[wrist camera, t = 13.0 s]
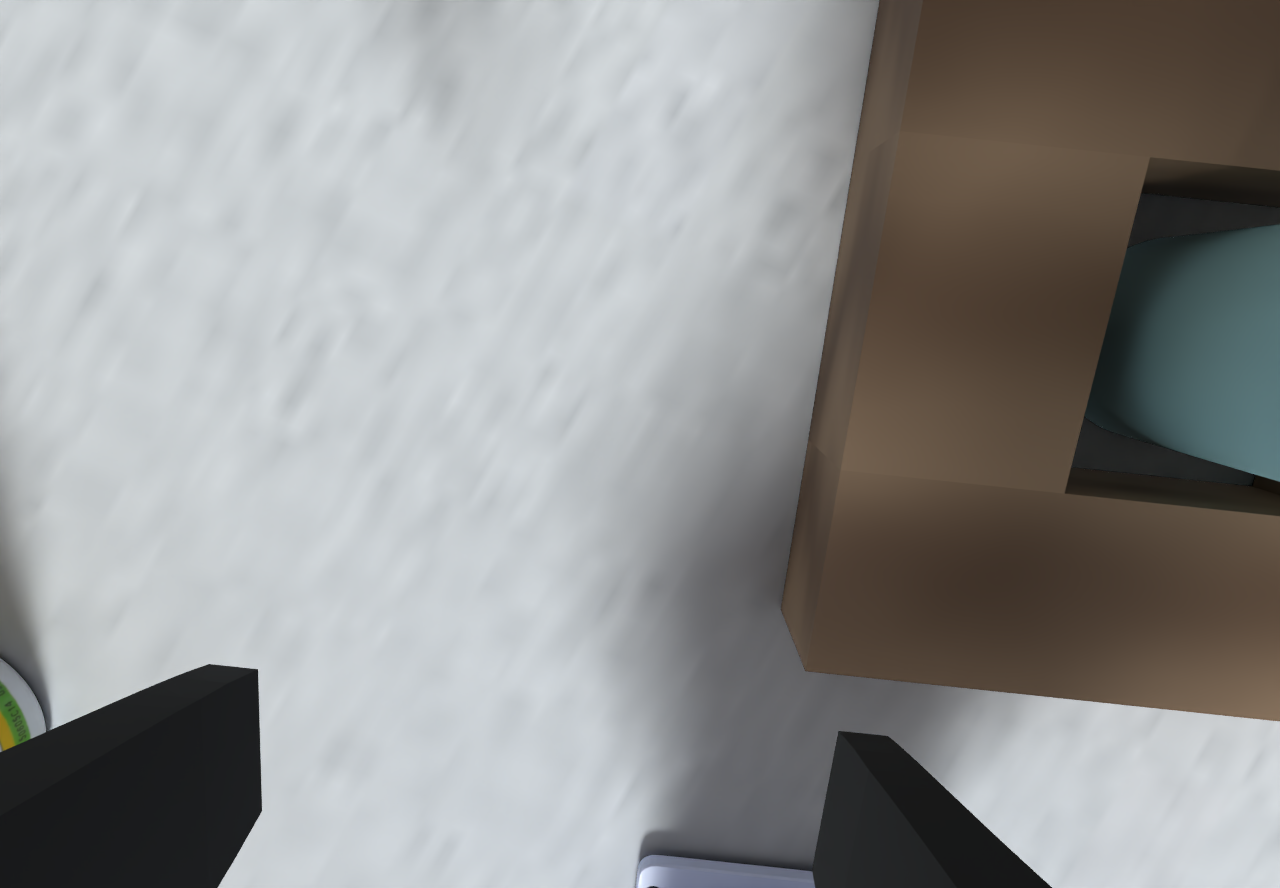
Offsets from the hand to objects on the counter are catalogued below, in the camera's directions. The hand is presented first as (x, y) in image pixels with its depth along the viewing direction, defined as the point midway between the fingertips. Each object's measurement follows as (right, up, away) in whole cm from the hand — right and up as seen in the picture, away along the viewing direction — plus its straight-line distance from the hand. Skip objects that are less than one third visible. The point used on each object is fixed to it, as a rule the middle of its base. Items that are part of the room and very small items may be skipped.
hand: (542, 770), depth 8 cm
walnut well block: (+14, +7, +8) cm, 17 cm away
